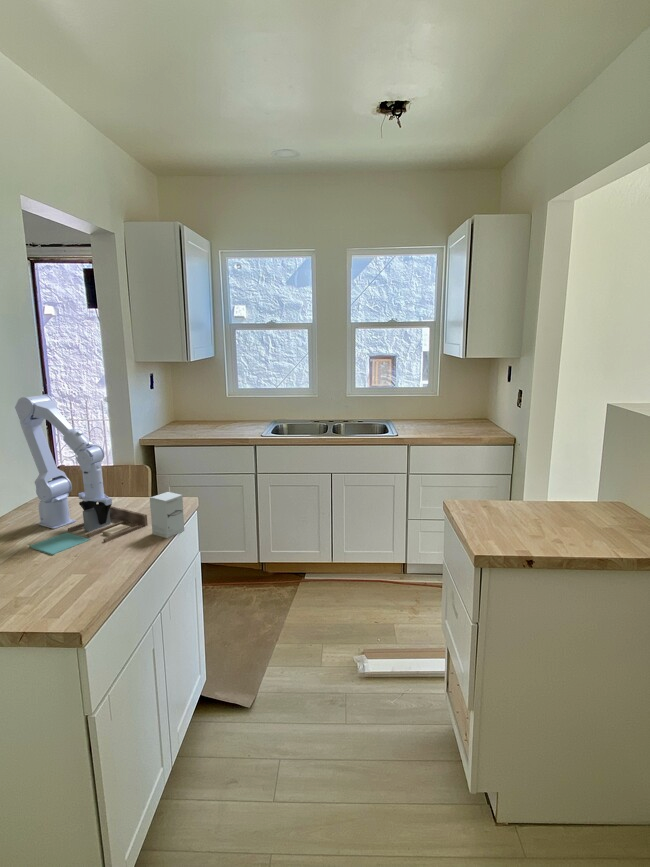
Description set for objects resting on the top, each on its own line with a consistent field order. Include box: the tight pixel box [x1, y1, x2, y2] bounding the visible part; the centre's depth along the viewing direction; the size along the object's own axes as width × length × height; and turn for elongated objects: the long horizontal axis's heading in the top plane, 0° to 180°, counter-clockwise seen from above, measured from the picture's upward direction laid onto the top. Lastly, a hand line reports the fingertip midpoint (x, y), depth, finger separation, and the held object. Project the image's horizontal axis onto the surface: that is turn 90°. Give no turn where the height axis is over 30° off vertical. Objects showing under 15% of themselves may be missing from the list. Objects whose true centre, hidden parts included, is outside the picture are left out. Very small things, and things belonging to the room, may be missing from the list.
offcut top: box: [102, 524, 131, 536], centre depth 156 cm, size 4×7×1 cm, turn 152°
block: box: [82, 508, 112, 533], centre depth 160 cm, size 2×8×7 cm, turn 151°
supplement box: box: [149, 491, 185, 539], centre depth 154 cm, size 7×7×13 cm
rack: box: [67, 505, 149, 543], centre depth 159 cm, size 19×16×4 cm
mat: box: [28, 531, 91, 556], centre depth 148 cm, size 12×12×1 cm
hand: (97, 522), depth 160 cm, fingers open, 5 cm apart
